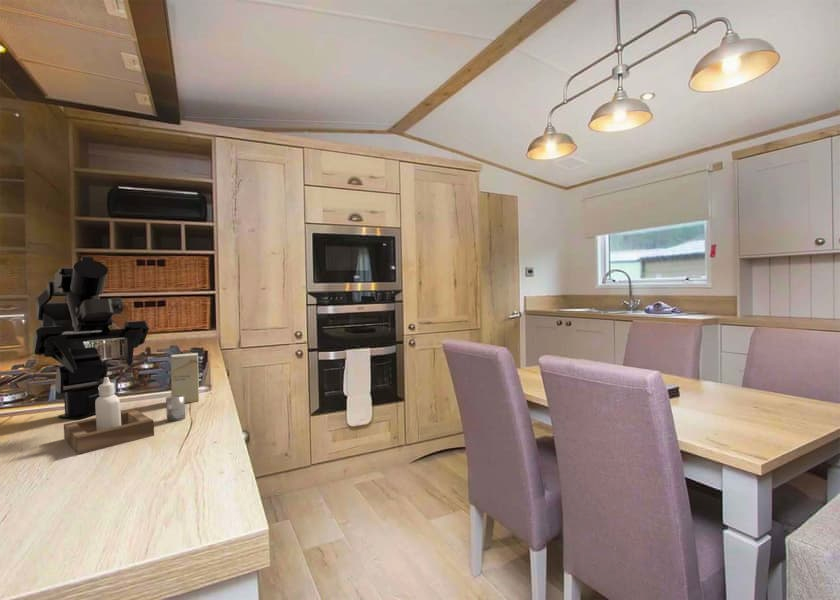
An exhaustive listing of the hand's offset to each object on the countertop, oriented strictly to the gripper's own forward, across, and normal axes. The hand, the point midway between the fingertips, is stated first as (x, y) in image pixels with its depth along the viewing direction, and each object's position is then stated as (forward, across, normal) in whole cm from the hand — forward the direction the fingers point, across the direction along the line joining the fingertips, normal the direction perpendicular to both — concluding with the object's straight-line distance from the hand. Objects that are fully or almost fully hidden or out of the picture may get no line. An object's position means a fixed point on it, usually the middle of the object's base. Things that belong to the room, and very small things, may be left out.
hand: (103, 367), depth 84 cm
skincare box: (+1, +20, +18) cm, 27 cm away
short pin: (+11, +13, +8) cm, 18 cm away
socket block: (+12, 0, +8) cm, 14 cm away
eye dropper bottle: (+12, 0, +8) cm, 14 cm away
